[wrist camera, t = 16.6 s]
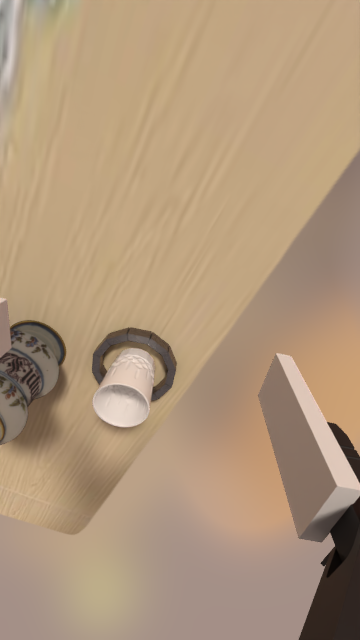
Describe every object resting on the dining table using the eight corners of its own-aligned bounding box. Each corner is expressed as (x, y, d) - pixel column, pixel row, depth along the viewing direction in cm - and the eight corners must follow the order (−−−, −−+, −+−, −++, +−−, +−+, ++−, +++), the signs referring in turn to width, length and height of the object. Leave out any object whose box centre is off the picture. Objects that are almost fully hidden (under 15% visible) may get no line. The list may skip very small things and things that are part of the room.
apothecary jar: (4, 368, 49) (-91, 459, 33) (-3, 307, 44) (-121, 380, 27) (72, 380, 49) (12, 477, 33) (73, 321, 44) (1, 402, 28)
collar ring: (167, 400, 50) (166, 408, 48) (94, 386, 50) (90, 394, 48) (182, 337, 44) (181, 344, 42) (99, 321, 44) (94, 327, 42)
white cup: (103, 358, 47) (80, 399, 38) (139, 336, 44) (124, 374, 35) (132, 389, 49) (117, 435, 40) (168, 370, 47) (161, 413, 38)
